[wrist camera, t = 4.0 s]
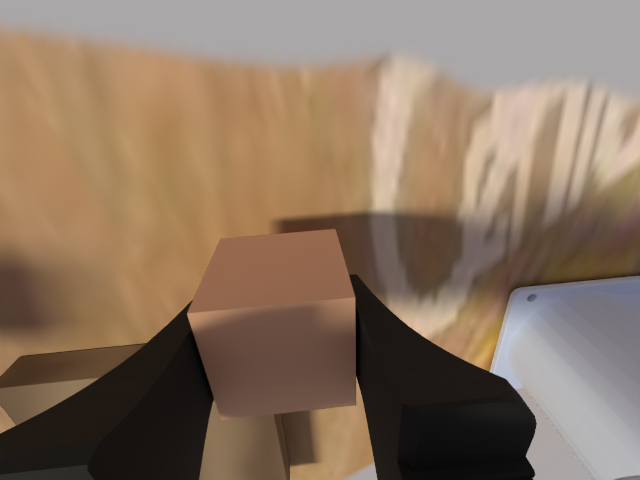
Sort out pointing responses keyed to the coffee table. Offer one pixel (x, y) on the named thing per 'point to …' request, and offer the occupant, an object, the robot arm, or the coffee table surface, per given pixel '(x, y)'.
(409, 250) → the coffee table surface
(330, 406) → the terracotta block
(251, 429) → the walnut base
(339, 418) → the coffee table surface
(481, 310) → the coffee table surface
